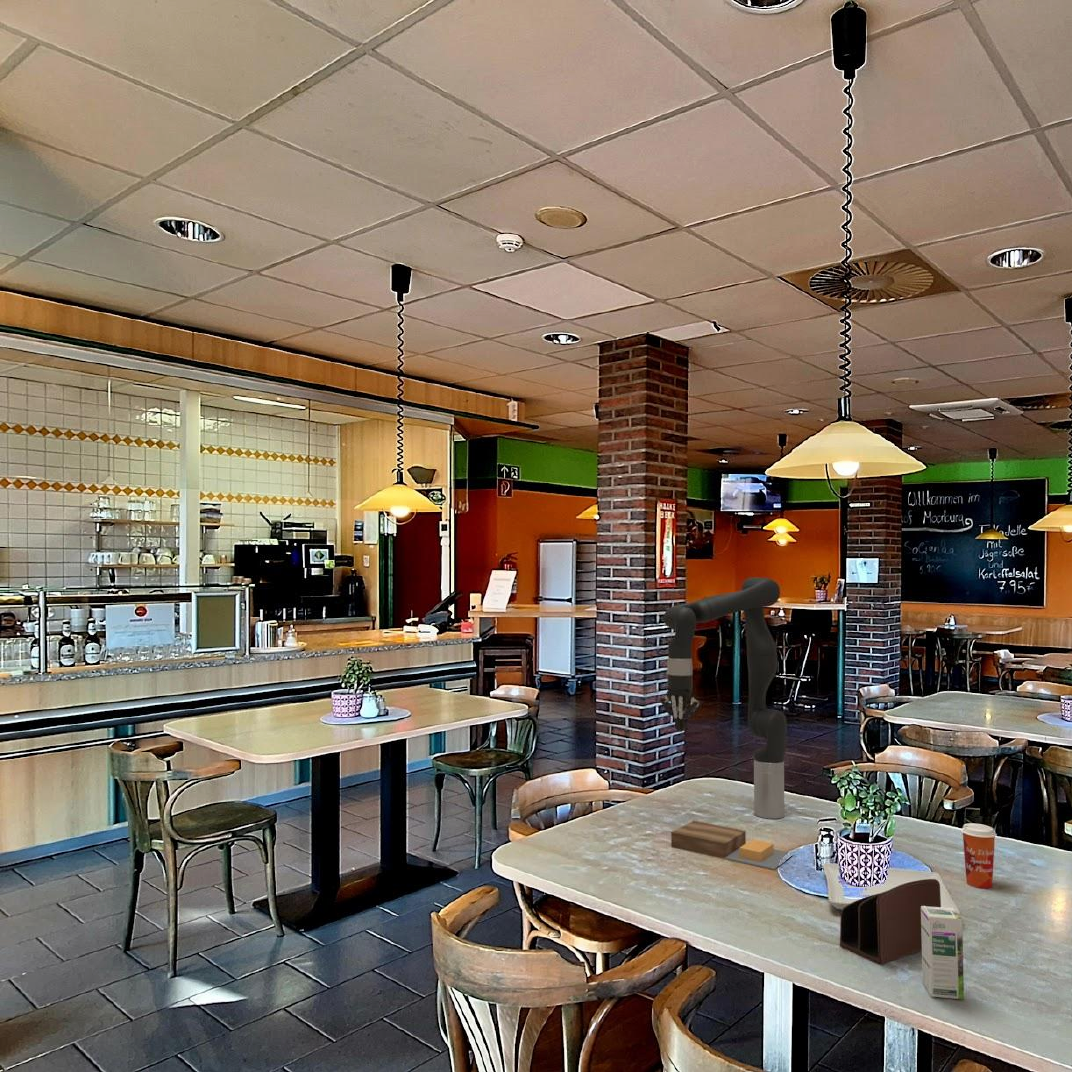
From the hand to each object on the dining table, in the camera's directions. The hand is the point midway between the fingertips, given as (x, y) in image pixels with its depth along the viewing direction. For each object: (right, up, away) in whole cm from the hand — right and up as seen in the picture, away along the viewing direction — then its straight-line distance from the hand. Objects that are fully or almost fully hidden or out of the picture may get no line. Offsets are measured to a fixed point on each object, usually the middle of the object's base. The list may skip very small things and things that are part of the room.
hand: (679, 730), depth 255 cm
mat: (+17, -28, -27) cm, 42 cm away
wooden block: (+5, -28, -18) cm, 34 cm away
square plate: (+39, -28, -55) cm, 73 cm away
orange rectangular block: (+16, -26, -26) cm, 41 cm away
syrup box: (+31, -25, -99) cm, 107 cm away
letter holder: (+30, -26, -80) cm, 89 cm away
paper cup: (+66, -28, -46) cm, 85 cm away
